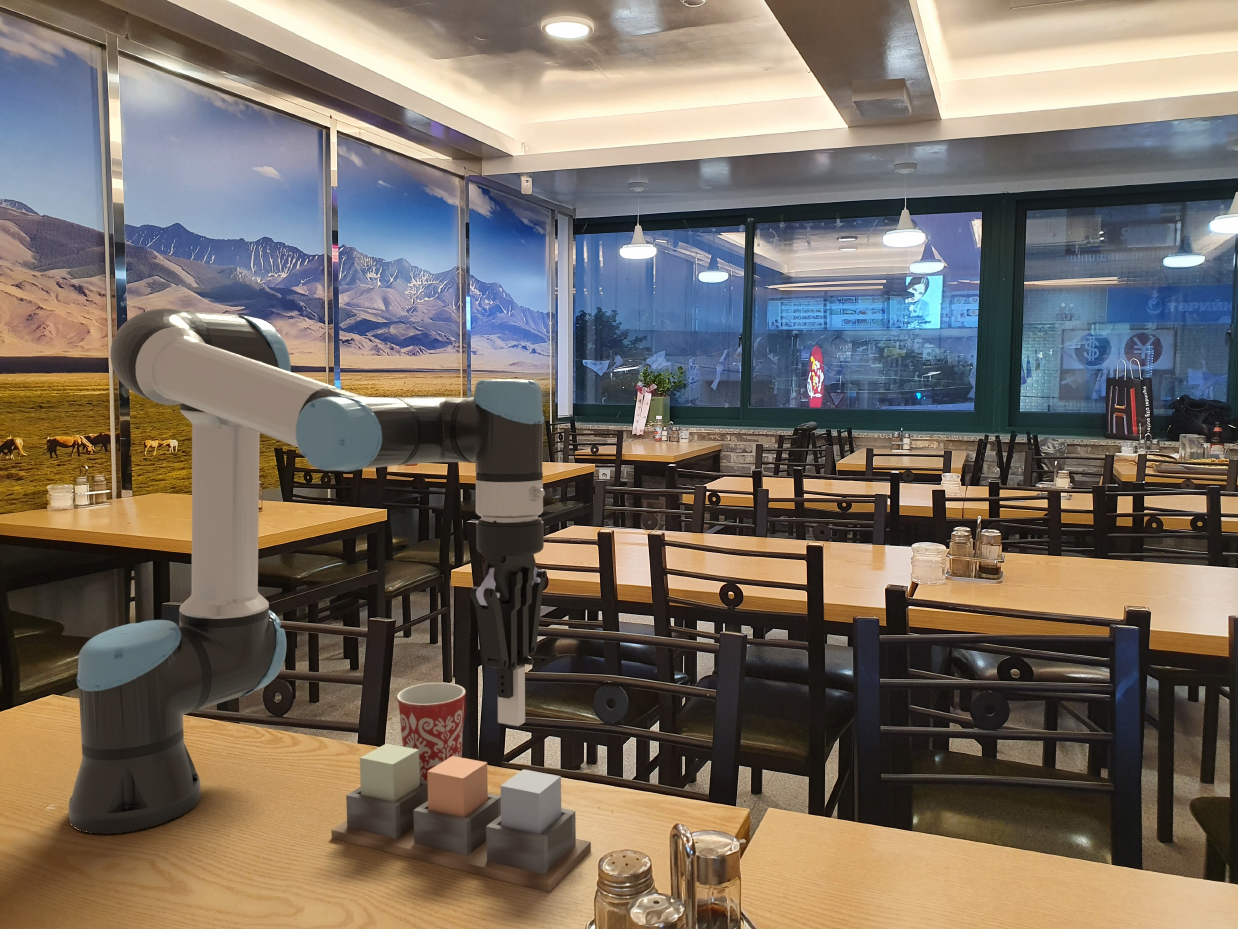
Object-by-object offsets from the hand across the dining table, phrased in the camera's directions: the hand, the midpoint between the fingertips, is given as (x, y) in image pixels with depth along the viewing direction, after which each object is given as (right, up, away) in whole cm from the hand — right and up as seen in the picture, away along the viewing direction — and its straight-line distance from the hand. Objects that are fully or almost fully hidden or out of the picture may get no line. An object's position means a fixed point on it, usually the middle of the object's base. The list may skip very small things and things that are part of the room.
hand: (511, 722), depth 104 cm
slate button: (+2, -13, 0) cm, 13 cm away
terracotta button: (-7, -12, +4) cm, 15 cm away
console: (-7, -16, +4) cm, 18 cm away
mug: (-12, -15, +21) cm, 28 cm away
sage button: (-16, -12, +8) cm, 22 cm away
